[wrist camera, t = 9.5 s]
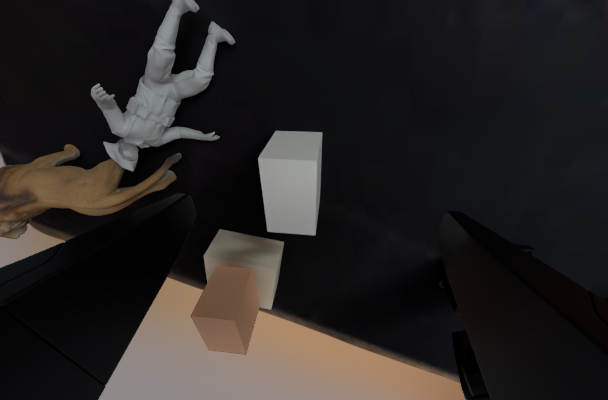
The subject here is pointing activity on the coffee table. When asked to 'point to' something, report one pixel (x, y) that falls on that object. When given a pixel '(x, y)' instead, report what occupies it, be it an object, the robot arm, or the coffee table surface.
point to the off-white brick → (291, 181)
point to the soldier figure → (160, 92)
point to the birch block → (248, 260)
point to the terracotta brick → (227, 310)
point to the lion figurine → (68, 188)
